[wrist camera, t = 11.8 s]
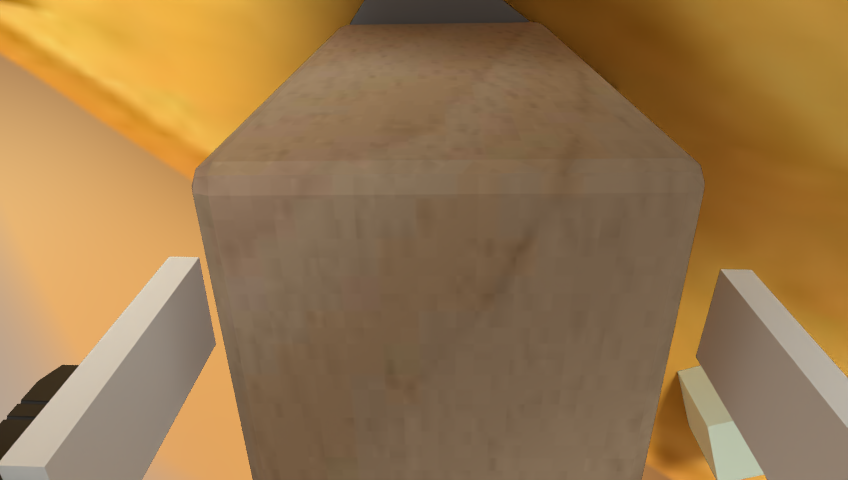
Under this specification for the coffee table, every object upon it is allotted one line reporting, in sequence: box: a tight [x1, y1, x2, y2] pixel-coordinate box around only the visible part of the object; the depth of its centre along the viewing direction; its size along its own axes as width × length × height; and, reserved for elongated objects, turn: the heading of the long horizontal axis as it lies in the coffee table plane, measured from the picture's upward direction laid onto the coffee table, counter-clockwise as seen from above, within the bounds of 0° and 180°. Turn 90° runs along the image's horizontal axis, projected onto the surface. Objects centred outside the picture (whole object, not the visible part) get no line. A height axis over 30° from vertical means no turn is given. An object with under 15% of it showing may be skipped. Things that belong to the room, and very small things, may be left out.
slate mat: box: [349, 0, 530, 25], centre depth 31 cm, size 13×13×1 cm
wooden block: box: [192, 22, 705, 480], centre depth 22 cm, size 10×10×20 cm
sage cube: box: [678, 366, 764, 480], centre depth 37 cm, size 5×5×5 cm
